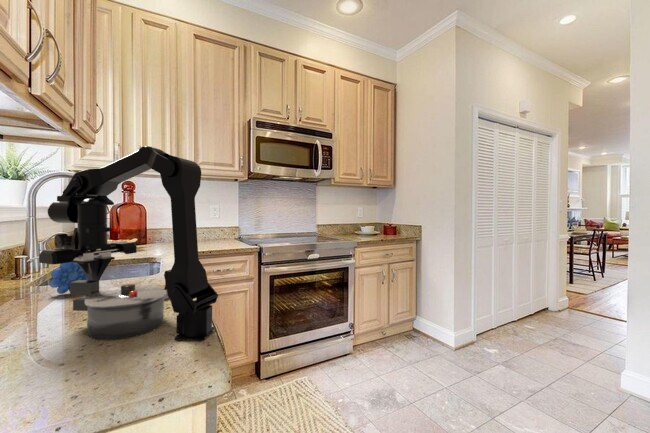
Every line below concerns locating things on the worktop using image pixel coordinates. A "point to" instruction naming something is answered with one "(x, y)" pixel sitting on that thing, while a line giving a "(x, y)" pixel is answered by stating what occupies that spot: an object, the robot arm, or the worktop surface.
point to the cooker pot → (121, 319)
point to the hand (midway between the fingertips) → (93, 286)
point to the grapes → (66, 276)
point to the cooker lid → (116, 294)
